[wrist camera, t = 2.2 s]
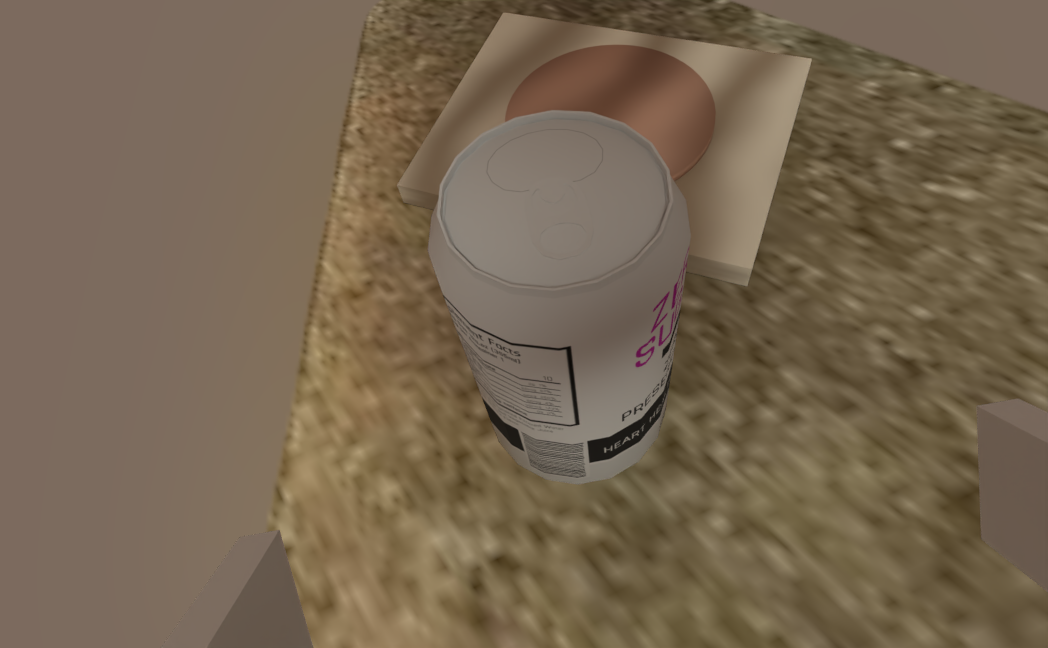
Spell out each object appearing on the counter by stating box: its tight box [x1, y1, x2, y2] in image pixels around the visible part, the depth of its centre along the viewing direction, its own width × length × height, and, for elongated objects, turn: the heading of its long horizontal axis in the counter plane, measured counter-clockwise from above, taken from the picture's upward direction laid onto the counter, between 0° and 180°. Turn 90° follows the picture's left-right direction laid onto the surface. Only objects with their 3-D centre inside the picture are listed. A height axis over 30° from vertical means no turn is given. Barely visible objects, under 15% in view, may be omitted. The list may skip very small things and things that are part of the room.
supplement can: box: [428, 110, 691, 484], centre depth 27 cm, size 8×8×15 cm
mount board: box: [397, 13, 812, 286], centre depth 41 cm, size 20×16×2 cm
